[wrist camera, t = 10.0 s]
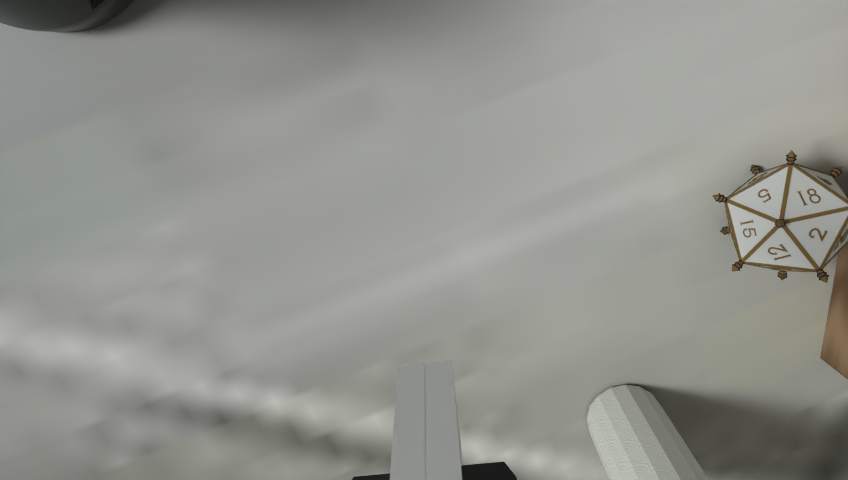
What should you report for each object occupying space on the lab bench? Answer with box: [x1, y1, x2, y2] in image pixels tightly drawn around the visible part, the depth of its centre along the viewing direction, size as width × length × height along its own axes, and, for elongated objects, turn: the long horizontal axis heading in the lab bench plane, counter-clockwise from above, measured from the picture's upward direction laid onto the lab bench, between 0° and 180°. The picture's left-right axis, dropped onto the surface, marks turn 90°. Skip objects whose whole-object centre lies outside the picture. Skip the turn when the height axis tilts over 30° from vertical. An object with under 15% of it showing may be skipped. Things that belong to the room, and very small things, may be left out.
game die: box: [713, 150, 848, 283], centre depth 37 cm, size 9×8×10 cm
